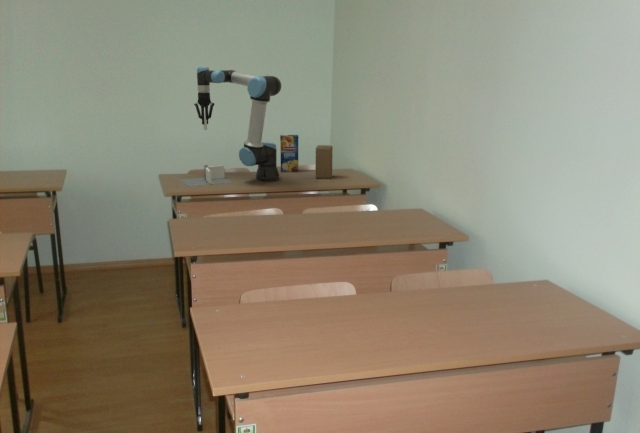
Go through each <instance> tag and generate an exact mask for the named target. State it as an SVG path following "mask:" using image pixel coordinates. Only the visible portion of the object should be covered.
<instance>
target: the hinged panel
mask: <svg viewBox="0 0 640 433" xmlns="http://www.w3.org/2000/svg"><path fill="white" fill-rule="evenodd" d="M205 171H206V180H207V182H208V183H209V184H210V185H212V184H211V171H210V170H209V169H208V168H205ZM205 171H204V172H205Z"/></svg>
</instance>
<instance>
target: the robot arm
mask: <svg viewBox="0 0 640 433" xmlns="http://www.w3.org/2000/svg"><path fill="white" fill-rule="evenodd" d="M196 80H197V81H196V82H197V92H198V93H197V101H196V102H195V103H193V105H194V107H195V110H196V114H197V116H198V119H200V120H201V124H202V125H203V126H202V127H203V130H205V131H207V130H208V125H209V120H210V119H211V118H212V116H213V115H212V114H213V110H214V106H215V102H212V100H211V92H210V91H211V88H210V86H211V85H210V83H211V84H221V83H222V84H223V83H230V84H235V85H241V86H244V87H246V88H247V92H248V95H249V98H250V99H249V100H251V108H250V115H249V124H248V129H247V130H248V131H247V138H246V139H247V140H245V141H244V143H243V147H241V148H240V149H239V151H238V158H239V161H240V162H241V164H243V165H244V166H246V167H254V166H257V170H256V172H255V180H257V181H260V182H274V181H278V180H280V173H279V170H278V167H277V150H278V149H277V145H276V143H274V142H262V141H263V133H264V127H265V126H264V125H265V118H266V113H267V112H266V111H267V105H268V103H270V101H271V97H273V96H274V97H275V96H276V95H278V94H279V93H280V91H281V90H282V82H281V79H279V78H278V77H277V76H274V75H264V76H263V75H256V74H250V73H247V72H246V73H245V72H240V71H237V70H235V69H228V70H227V69H225V70H220V69H219V70H218V69H217V70H210V68H209V66H198V67H197V68H196ZM199 106H200V107H199Z"/></svg>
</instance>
